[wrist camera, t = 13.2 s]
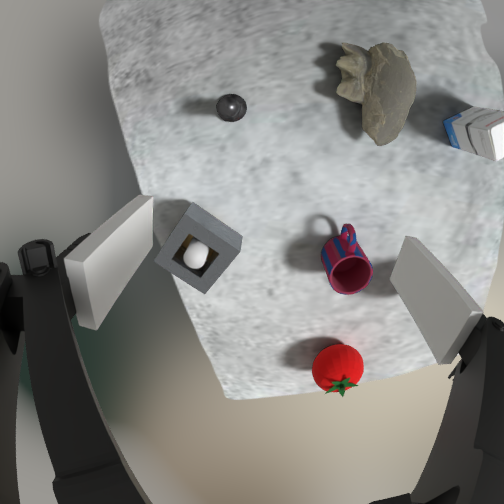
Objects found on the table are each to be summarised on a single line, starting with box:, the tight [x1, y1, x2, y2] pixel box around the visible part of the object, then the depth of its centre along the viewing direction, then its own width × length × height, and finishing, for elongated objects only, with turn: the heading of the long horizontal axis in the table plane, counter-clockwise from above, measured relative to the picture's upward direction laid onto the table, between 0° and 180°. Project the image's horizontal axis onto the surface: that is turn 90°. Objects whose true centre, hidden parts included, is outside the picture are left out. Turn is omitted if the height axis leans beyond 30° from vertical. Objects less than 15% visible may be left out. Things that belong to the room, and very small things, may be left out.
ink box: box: [443, 107, 504, 161], centre depth 30 cm, size 8×5×12 cm, turn 121°
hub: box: [181, 234, 215, 269], centre depth 42 cm, size 7×7×8 cm
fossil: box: [336, 43, 416, 146], centre depth 31 cm, size 14×10×10 cm
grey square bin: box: [154, 202, 243, 294], centre depth 42 cm, size 9×9×5 cm
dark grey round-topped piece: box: [216, 94, 247, 122], centre depth 34 cm, size 4×4×6 cm
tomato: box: [312, 344, 364, 396], centre depth 52 cm, size 10×10×10 cm
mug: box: [321, 224, 373, 295], centre depth 43 cm, size 7×10×7 cm
